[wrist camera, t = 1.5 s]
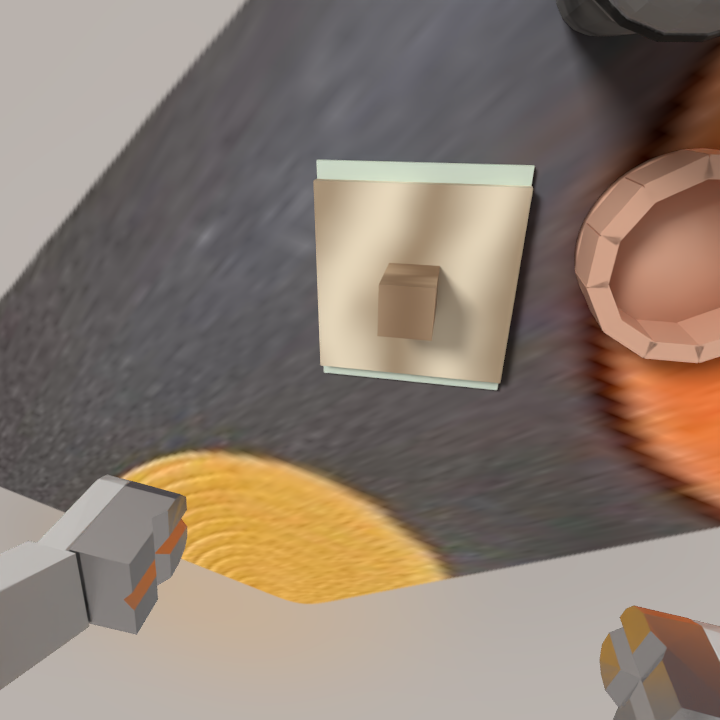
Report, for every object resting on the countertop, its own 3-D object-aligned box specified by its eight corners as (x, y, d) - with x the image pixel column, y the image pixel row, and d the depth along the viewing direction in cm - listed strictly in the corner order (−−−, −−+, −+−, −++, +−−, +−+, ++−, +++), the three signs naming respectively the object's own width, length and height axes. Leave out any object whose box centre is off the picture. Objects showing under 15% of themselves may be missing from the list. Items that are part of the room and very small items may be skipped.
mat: (533, 165, 26) (534, 166, 25) (496, 387, 32) (497, 390, 32) (318, 159, 28) (316, 160, 27) (325, 369, 34) (324, 372, 34)
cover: (531, 186, 26) (544, 201, 22) (499, 377, 31) (504, 418, 27) (317, 178, 28) (291, 191, 24) (323, 360, 33) (303, 396, 29)
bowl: (817, 150, 23) (879, 158, 20) (738, 337, 28) (777, 370, 24) (597, 145, 25) (619, 152, 21) (558, 323, 29) (570, 352, 26)
